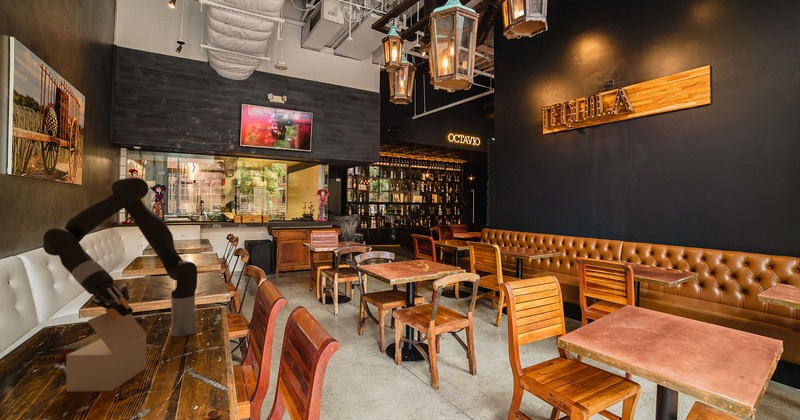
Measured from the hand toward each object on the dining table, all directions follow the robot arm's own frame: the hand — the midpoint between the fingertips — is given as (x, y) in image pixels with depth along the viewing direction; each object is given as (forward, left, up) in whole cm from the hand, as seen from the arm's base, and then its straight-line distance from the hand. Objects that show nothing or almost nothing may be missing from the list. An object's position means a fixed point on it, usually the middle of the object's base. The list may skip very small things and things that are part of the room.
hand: (128, 313), depth 121 cm
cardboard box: (+6, -4, -22) cm, 23 cm away
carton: (+15, -39, -23) cm, 48 cm away
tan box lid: (+3, -2, -5) cm, 6 cm away
